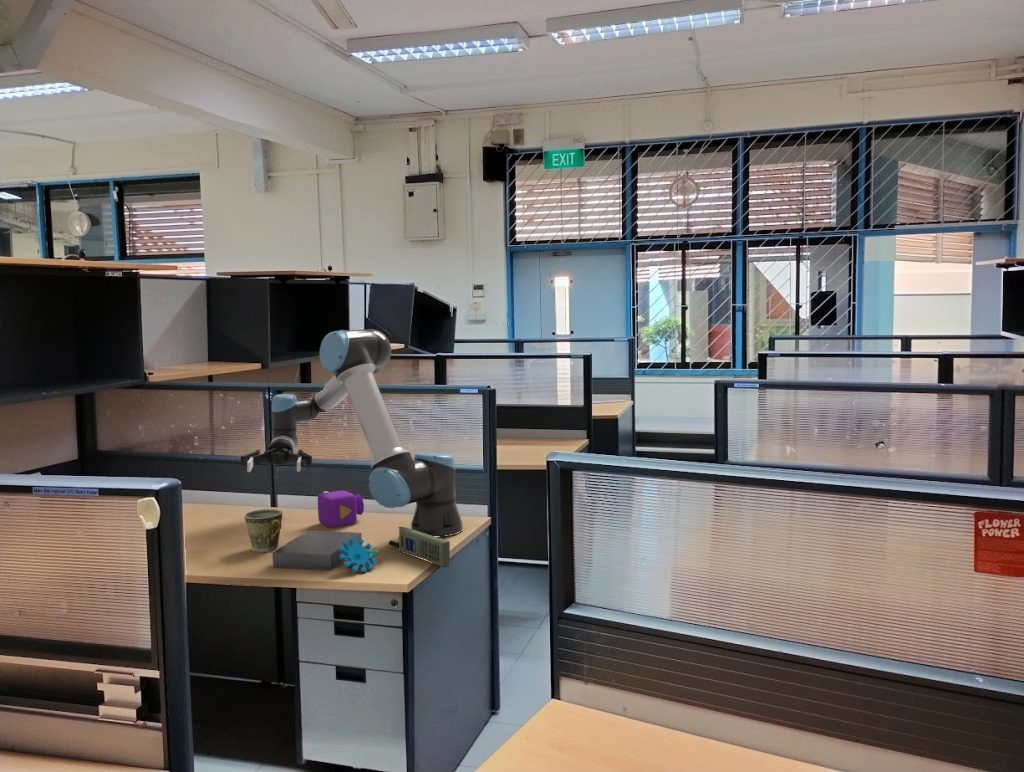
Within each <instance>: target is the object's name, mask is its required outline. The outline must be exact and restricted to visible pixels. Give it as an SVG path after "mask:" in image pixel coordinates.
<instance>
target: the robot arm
mask: <svg viewBox="0 0 1024 772" xmlns="http://www.w3.org/2000/svg"><path fill="white" fill-rule="evenodd" d="M323 337H324V338H323V339H322V340H321V344H320V347H319V361H320V363H321V366H322V368H323V369H324V370H325V371H327V372H329V373H331V374H333V373H334V376H333V377H332V378H330V379H329V380H328V381H327V382H326V383H325V384H324V385H323V386H325V387H324V388H323V390H321V391H320V392H318V391H317V392H318V393H317V392H316V393H315V394H314V395H313V396H312V397H313V398H312V400H310V399H304V398H298V399H297V396H296V395H295V394H290V393H280V394H276V395H274V396H273V397H272V399H271V400H272V401H271V402H272V403H271V417H272V419H271V420H272V427H271V428H272V429H271V434H272V435H271V442H270V444H269V446H268V448H267V450H265V451H263V452H262V451H261V450H260V449H256V450H255V451H253V452H250V453H247V454H244V455H241V456H240V466H244V467H245V468H246V472H247V473H251V471H253V470H252V469H253V467H254V466H255V465H259V464H263V463H265V464H266V463H267V464H269V463H273V464H275V465H279V466H280V465H281V466H282V465H285V464H287V463H288V464H290V463H293V464H296V472H297V473H299V472H300V471H301V469H302V467H306V465H308V466H311V465H313V456H312V455H310V454H308V453H306V452H304V451H303V449H299V450H297V451H296V452H295V450H296V448H297V446H298V436H297V428H298V427H297V426H298V425H297V423H304V422H311V421H310V420H312V419H314V418H315V417H316V416H317V414H318V413H319V412H325V411H327V410H329V409H332V408H334V407H335V406H336V407H337V406H338V404H340V403H341V402H342V401H344V399H345V398H346V397H347V396H348V398H349V400H350V403H351V404H352V407H353V410H354V413H355V416H356V417H357V421H358V423H359V426H360V428H361V430H362V433H363V435H364V438H365V441H366V443H367V446H368V448H369V451H370V454H371V456H372V458H373V461H372V463H371V465H370V469H371V471H372V472H371V473H370V474H369V478H368V480H369V483H368V488H369V491H370V494H371V496H372V497H373V499H374V500H375V502H377V503H378V504H379V505H380V506H382V507H384V508H387V509H393V508H403V507H405V506H407V505H410V504H414V503H416V504H415V509H414V512H413V516H412V520H411V524H410V529H412V530H416V531H419V532H422V533H425V534H428V535H431V536H445V535H450V534H454V533H457V532H459V531H461V530H462V529H464V528H463V520H462V518H461V515H460V512H459V508H458V506H457V500H456V498H457V497H456V496H457V494H456V488H457V487H456V486H457V485H456V470H457V468H456V465H455V459H454V457H453V455H452V454H448V453H442V452H441V453H440V452H439V453H438V452H417V453H415V454H414V456H413V457H412V454H411V452H410V451H409V450H406V449H404V448H403V447H402V446H403V445H402V444H401V441H400V440H399V439H400V438H399V436H398V434H397V432H396V429H395V427H394V425H393V424H394V423H393V422H392V419H391V416H390V414H389V411H388V409H387V407H386V404H385V402H384V398H383V397H382V393H381V392H380V389H379V386H378V384H377V380H376V379H375V376H374V375H376V374H378V373H379V372H380V371H381V370H382V369H383V368H385V367H386V365H387V364H388V363H389V361H390V359H391V354H392V346H391V343H390V340H389V339H388V337H387V336H386V335H385V334H384V333H382V331H379V330H376V329H373V328H366V329H351V330H350V329H349V330H348V329H347V330H346V329H345V330H344V329H340V330H335V331H331V332H329V333H327V334H326V335H325V336H323ZM312 421H313V420H312ZM462 531H463V530H462ZM462 531H461V532H462Z"/></svg>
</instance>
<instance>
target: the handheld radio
mask: <svg viewBox="0 0 1024 772" xmlns="http://www.w3.org/2000/svg"><path fill="white" fill-rule="evenodd" d="M397 528H398V530H399V531H398V534H399V536H398V541H399V542H397V541H394V540H389V541H388V544H389V545H390V546H392V547H394V548H397V549H399V550H398V552H399V551H401V552H400V553H402V552H405V553H408V554H411V555H414V556H417V557H420V558H423V559H426V560H428V561H430V562H432V563H433V565H435V566H438V567H441V568H448V567H450V566H451V563H450V560H451V559H450V557H451V556H450V555H451V554H450V553H451V551H450V549H451V548H450V546H451V545H450V543H451V542H450V541H449V540H446V539H443V538H442V537H434V536H431V535H428V534H425V533H422V532H419V531H416V530H412V529H411V528H410V527H409V528H408V527H405V526H398V527H397ZM432 563H431V564H432Z"/></svg>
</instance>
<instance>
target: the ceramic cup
mask: <svg viewBox="0 0 1024 772" xmlns="http://www.w3.org/2000/svg"><path fill="white" fill-rule="evenodd" d="M244 520H245V525H246V529H247V532H248V536H249V541H250V544H251V548H252V551H253V550H254V551H253V552H256V551H257V552H256V553H269V551H270V552H274V551H275V550H277V549H278V547H279V543H280V533H281V529H282V526H283V525H282V520H283V511H282V509H281V510H280V509H276V508H274V509H273V508H264V509H263V508H262V509H257V510H252V511H249V512H247V513H245V514H244Z"/></svg>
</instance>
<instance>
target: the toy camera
mask: <svg viewBox="0 0 1024 772" xmlns="http://www.w3.org/2000/svg"><path fill="white" fill-rule="evenodd" d="M364 511H365V504H364V500H363V498H362V496H361V495H360V494H356V495H355V494H353V493H352V492H349V491H347V490H336V491H330V492H329V491H326V490H325V491H323V492H322V493H321V494H318V495H317V514H318V521H319V523H320V524H322V525H324V526H326V527H328V528H332V529H333V528H338V527H344V526H349V525H353V524H355V523H357V521H358V519H357V518H358V516H357V515H359V516H361V515H362V514H363V513H364Z"/></svg>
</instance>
